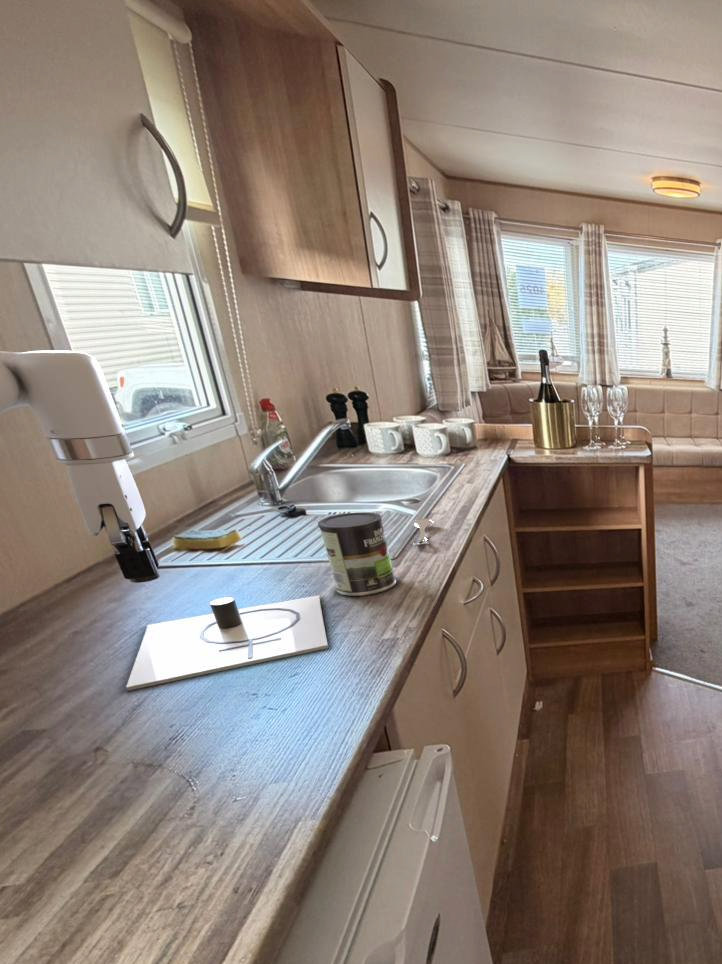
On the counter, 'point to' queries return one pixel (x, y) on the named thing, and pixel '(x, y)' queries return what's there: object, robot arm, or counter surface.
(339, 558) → the coffee can
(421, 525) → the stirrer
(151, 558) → the dot
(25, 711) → the counter surface
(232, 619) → the dot
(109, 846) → the counter surface
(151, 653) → the board
